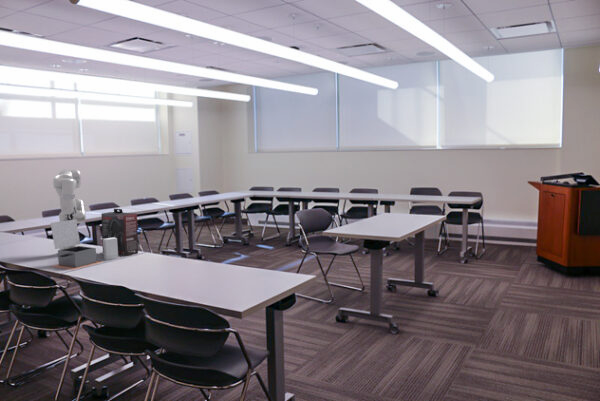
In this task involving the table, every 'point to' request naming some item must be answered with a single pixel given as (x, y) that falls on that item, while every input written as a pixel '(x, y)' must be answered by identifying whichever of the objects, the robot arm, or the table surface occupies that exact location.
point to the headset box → (121, 230)
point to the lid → (65, 233)
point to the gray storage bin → (77, 256)
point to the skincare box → (110, 248)
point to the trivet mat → (74, 268)
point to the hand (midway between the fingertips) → (70, 224)
